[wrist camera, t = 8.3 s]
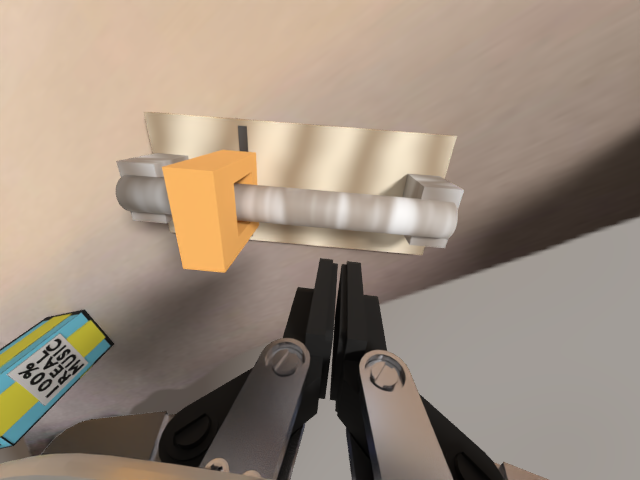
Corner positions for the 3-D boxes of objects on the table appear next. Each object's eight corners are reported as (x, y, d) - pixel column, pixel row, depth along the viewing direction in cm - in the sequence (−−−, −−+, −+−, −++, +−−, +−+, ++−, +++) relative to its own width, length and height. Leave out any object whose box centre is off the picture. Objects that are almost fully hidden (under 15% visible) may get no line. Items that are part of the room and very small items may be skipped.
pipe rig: (452, 135, 23) (502, 143, 16) (419, 250, 28) (446, 293, 21) (151, 112, 23) (73, 109, 16) (175, 228, 29) (124, 263, 22)
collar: (255, 152, 22) (212, 171, 14) (259, 225, 25) (225, 272, 17) (222, 149, 22) (161, 166, 14) (229, 222, 25) (183, 268, 17)
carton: (80, 353, 40) (-96, 515, 24) (45, 317, 37) (-187, 476, 20) (118, 347, 39) (-40, 514, 22) (85, 309, 35) (-128, 471, 19)
